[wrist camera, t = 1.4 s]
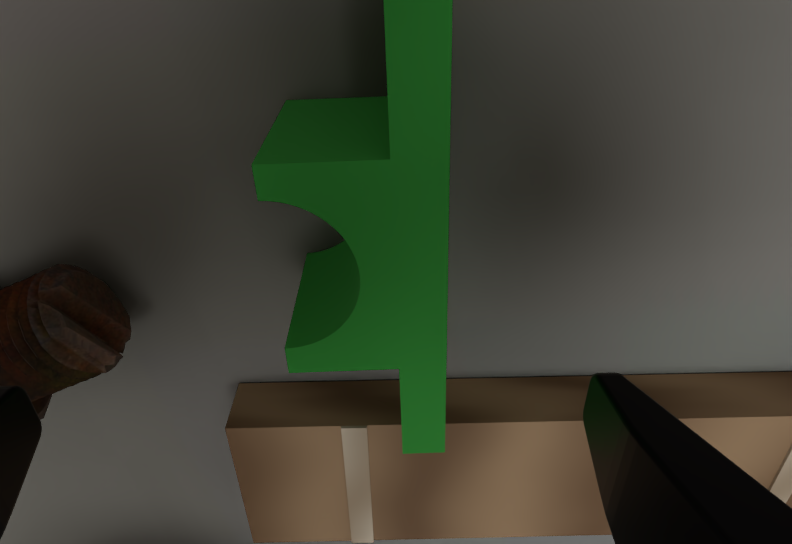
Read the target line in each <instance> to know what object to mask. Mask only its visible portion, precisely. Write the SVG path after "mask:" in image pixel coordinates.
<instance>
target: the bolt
mask: <svg viewBox="0 0 792 544" xmlns="http://www.w3.org/2000/svg"><path fill="white" fill-rule="evenodd" d="M130 336H131V326H130V318H129V315H128V313H127V312H126V310H125V308H124V307H123V305H122V303H121V302H120V300H119V299H118V298H117V297H116V295H115V294H114V293H113V291H112V290H111V289H110V288H109V287H108V286H107V285H106V284H105V283H104V282H103V281H102V280H100V279H98V278H97V277H95V276H94V275H92V274H91V273H89V272H88V271H86V270H84V269H81V268H79V267H76V266H72V265H68V264H57V265H55V266H52V267H51V268H48V269H45V270H43V271H41V272H40V273H37V274H35V275H33V276H31V277H29V278H27V279H25V280H23V281H21V282H17V283H14V284H13V285H12V286H9V287H5V288H4V289H2V290H0V386H21V387H22V388H23V389H25V391H26V392H27V394H28V396H29V398H30V400H31V402H32V404H33V406H34V408H35V410H36V413H37V415H38V417H39V419H43V418H44V416H45V413H46V411H47V408H48V405H49V402H50V399H51V397H52V394H53V393H55V392H57V391H60V390H63V389H65V388H67V387H69V386H74V385H75V384H77V383H79V382H82V381H86V380H88V379H89V378H94V377H96V376H98V375H100V374H101V373H106V372H108V371H110V370H111V369H112V368H114V367H115V366H116V365H117V363H118V362H119V360H120V359H121V358H122V357H123V356H122V355H121V354H120V353H123V351H124V348H125V343H126V342H127V341H128V340H130Z"/></svg>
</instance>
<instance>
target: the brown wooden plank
mask: <svg viewBox="0 0 792 544" xmlns="http://www.w3.org/2000/svg"><path fill="white" fill-rule="evenodd" d="M623 376H624V377H625V378H627V379H628V380H629V381H630V382H632V383H633V384H634V385H636V386H637V387H638V388H639V389H641V390H642V391H643V392H644V393H646V394H647V395H648V396H650V397H651V398H652V399H653V400H655V401H656V402H657V403H658V404H660V405H661V406H662V407H664V408H665V409H666V410H667V411H669V412H670V413H671V414H672V415H674V416H675V417H676V418H678V419H679V420H680V421H681V422H683V423H684V424H685V425H686V426H688V427H689V428H690V429H692V430H693V431H694V432H695V433H697V434H698V435H699V436H700V437H702V438H703V439H704V440H706V441H707V442H708V443H709V444H711V445H712V446H713V447H714V448H716V449H717V450H718V451H720V452H721V453H722V454H723V455H725V456H726V457H727V458H728V459H730V460H731V461H732V462H734V463H735V464H736V465H737V466H739V467H740V468H741V469H742V470H744V471H745V472H746V473H747V474H749V475H750V476H751V477H753V478H754V479H755V480H756V481H758V482H759V483H760V484H761V485H763V486H764V487H765V488H767V489H768V490H769V491H770V492H772V493H773V494H774V495H775V496H777V497H778V498H779V499H781V500H782V501H783V502H784V503H786V504H787V505H788V506H789V507H791V508H792V372H750V373H703V374H656V375H623ZM591 377H592V376H562V377H515V378H468V379H446V418H445V452H442V453H412V454H403V449H402V426H401V402H400V380H374V381H327V382H280V383H239V385H238V389H237V392H236V395H235V398H234V401H233V405H232V408H231V411H230V414H229V417H228V421H227V424H226V427H225V430H226V434H227V438H228V442H229V446H230V450H231V454H232V458H233V462H234V466H235V470H236V474H237V478H238V482H239V486H240V490H241V494H242V498H243V502H244V506H245V510H246V514H247V518H248V522H249V526H250V530H251V534H252V538H253V542H254V543H264V542H308V541H352V543H374V540H396V539H440V538H484V537H528V536H572V535H612V533H611V530H610V527H609V524H608V521H607V518H606V515H605V511H604V508H603V504H602V500H601V496H600V491H599V487H598V483H597V479H596V474H595V470H594V466H593V462H592V458H591V453H590V449H589V445H588V441H587V436H586V432H585V428H584V423H583V409H584V404H585V400H586V396H587V391H588V387H589V382H590V379H591Z"/></svg>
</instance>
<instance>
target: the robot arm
mask: <svg viewBox="0 0 792 544" xmlns="http://www.w3.org/2000/svg"><path fill="white" fill-rule="evenodd" d="M583 423H584V428H585V432H586V436H587V441H588V445H589V449H590V453H591V458H592V462H593V466H594V470H595V474H596V479H597V483H598V487H599V491H600V496H601V500H602V504H603V508H604V511H605V515H606V518H607V521H608V524H609V527H610V530H611V533H612V536H613V539H614V541H615V544H792V508H791V507H789V506H788V505H787V504H786V503H784V502H783V501H782V500H781V499H779V498H778V497H777V496H775V495H774V494H773V493H772V492H770V491H769V490H768V489H767V488H765V487H764V486H763V485H761V484H760V483H759V482H758V481H756V480H755V479H754V478H753V477H751V476H750V475H749V474H747V473H746V472H745V471H744V470H742V469H741V468H740V467H739V466H737V465H736V464H735V463H734V462H732V461H731V460H730V459H728V458H727V457H726V456H725V455H723V454H722V453H721V452H720V451H718V450H717V449H716V448H714V447H713V446H712V445H711V444H709V443H708V442H707V441H706V440H704V439H703V438H702V437H700V436H699V435H698V434H697V433H695V432H694V431H693V430H692V429H690V428H689V427H688V426H686V425H685V424H684V423H683V422H681V421H680V420H679V419H678V418H676V417H675V416H674V415H672V414H671V413H670V412H669V411H667V410H666V409H665V408H664V407H662V406H661V405H660V404H658V403H657V402H656V401H655V400H653V399H652V398H651V397H650V396H648V395H647V394H646V393H644V392H643V391H642V390H641V389H639V388H638V387H637V386H636V385H634V384H633V383H632V382H630V381H629V380H628V379H627V378H625V377H624V376H623V375H621V374H619V373H596V374H594V375H592V377H591V379H590V382H589V387H588V391H587V396H586V400H585V404H584V409H583ZM41 431H42V426H41V421H40V419H39V417H38V415H37V413H36V410H35V408H34V406H33V404H32V402H31V400H30V398H29V396H28V394H27V392H26V391H25V389H23V388H22V387H21V386H0V539H1V537H2V535H3V533H4V530H5V528H6V526H7V523H8V521H9V519H10V516H11V514H12V511H13V509H14V506H15V503H16V501H17V498H18V495H19V493H20V490H21V487H22V485H23V482H24V479H25V477H26V474H27V471H28V469H29V466H30V463H31V461H32V458H33V456H34V453H35V450H36V448H37V445H38V442H39V440H40V436H41Z"/></svg>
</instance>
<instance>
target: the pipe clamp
mask: <svg viewBox="0 0 792 544" xmlns="http://www.w3.org/2000/svg"><path fill="white" fill-rule="evenodd" d="M452 3H453V0H384V24H385V48H386V71H387V95H388V96H381V97H355V98H330V99H304V100H286V102H285V103H284V105H283V107H282V109H281V111H280V113H279V115H278V116H277V118H276V120H275V122H274V124H273V126H272V128H271V129H270V131H269V133H268V135H267V137H266V139H265V140H264V142H263V144H262V146H261V148H260V150H259V152H258V153H257V155H256V157H255V159H254V161H253V163H252V171H253V176H254V182H255V187H256V193H257V198H258V201H272V202H280V203H285V204H290V205H293V206H296V207H299V208H302V209H304V210H306V211H309V212H311V213H313V214H314V215H316V216H318V217H320V218H321V219H323V220H324V221H326V222H327V223H328V224H329V225H331V226H332V227H333V228H334V229H335V230H336V231H337V232H338V233H339V234H340V235H341V236H342V237H343V238H344V241H343V242H341V243H340V244H338V245H336V246H334V247H332V248H329V249H327V250H323V251H319V252H314V253H307V256H306V260H305V265H304V269H303V273H302V277H301V281H300V286H299V290H298V294H297V298H296V303H295V307H294V311H293V315H292V320H291V324H290V328H289V332H288V337H287V341H286V345H285V353H286V359H287V364H288V370H289V373H300V372H329V371H358V370H386V369H399V379H400V402H401V426H402V449H403V454H412V453H442V452H445V418H446V359H447V300H448V240H449V181H450V122H451V62H452Z"/></svg>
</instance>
